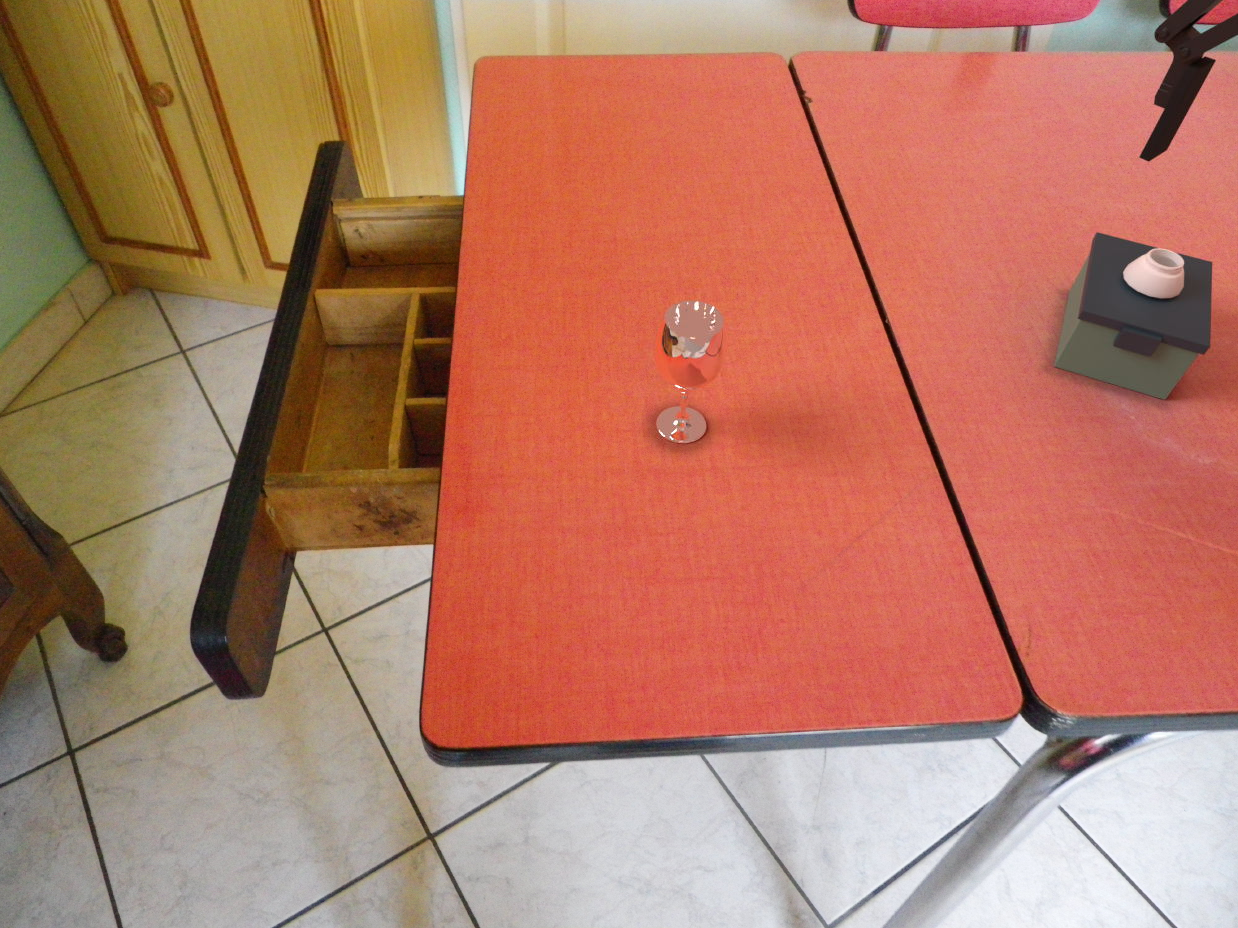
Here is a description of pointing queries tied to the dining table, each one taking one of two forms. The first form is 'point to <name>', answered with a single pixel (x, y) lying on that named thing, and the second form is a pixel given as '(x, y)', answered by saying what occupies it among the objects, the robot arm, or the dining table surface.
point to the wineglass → (688, 363)
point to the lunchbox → (1133, 322)
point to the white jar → (1156, 273)
